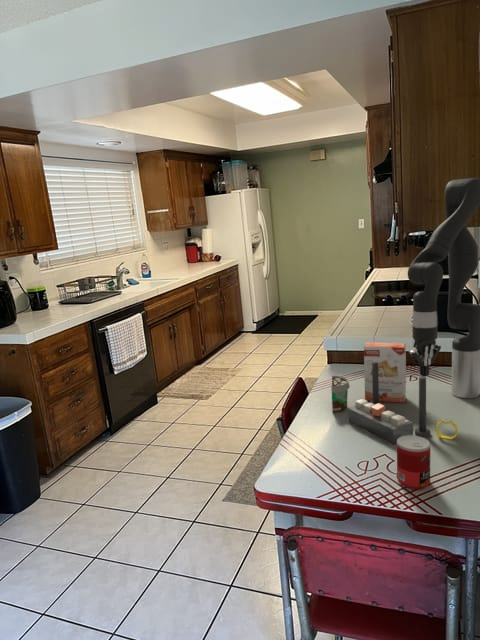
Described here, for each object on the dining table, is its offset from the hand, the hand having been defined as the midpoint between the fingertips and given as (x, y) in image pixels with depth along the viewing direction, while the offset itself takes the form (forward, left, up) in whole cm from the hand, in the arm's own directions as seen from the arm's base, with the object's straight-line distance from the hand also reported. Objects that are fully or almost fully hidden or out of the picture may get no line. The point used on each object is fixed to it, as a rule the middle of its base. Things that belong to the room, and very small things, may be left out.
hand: (424, 375), depth 157 cm
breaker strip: (+20, 0, -13) cm, 24 cm away
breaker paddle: (+20, 0, -8) cm, 21 cm away
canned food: (+34, +27, -14) cm, 45 cm away
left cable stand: (+12, -10, -13) cm, 21 cm away
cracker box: (+1, -17, -14) cm, 22 cm away
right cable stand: (+12, +10, -13) cm, 21 cm away
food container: (+18, -21, -14) cm, 31 cm away
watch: (+8, +16, -14) cm, 22 cm away
